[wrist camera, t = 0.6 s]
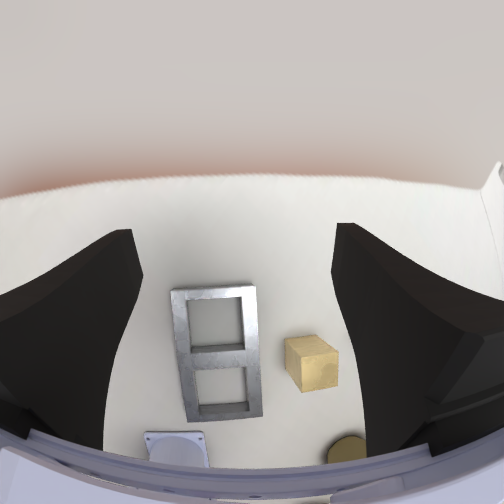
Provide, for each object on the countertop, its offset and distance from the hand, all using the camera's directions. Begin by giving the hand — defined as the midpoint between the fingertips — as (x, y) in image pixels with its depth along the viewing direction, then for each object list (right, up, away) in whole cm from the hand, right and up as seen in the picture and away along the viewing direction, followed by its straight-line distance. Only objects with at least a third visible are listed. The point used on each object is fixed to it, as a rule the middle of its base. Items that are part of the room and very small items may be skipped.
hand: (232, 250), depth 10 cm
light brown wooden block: (+7, -12, +25) cm, 29 cm away
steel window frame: (-3, -12, +24) cm, 27 cm away
